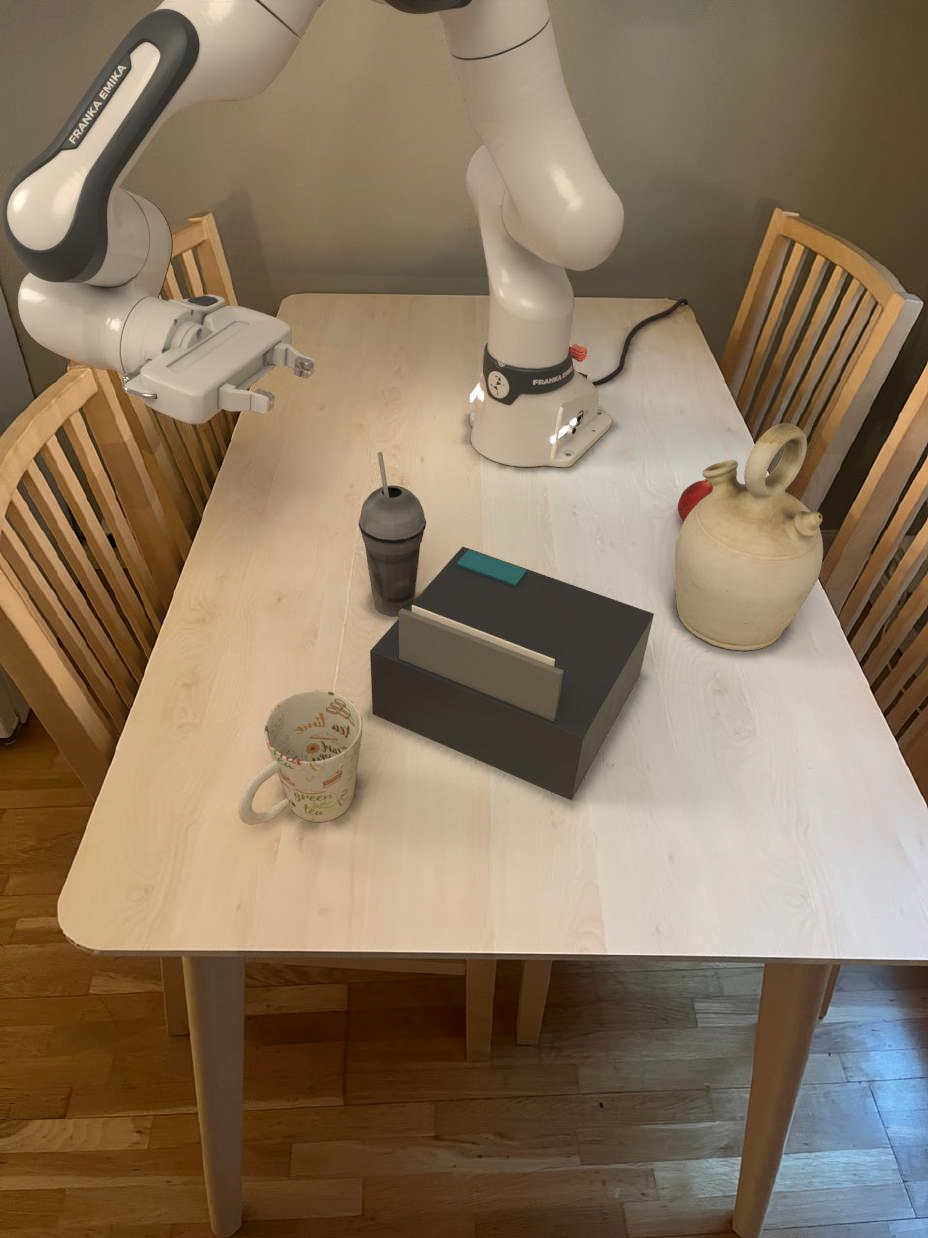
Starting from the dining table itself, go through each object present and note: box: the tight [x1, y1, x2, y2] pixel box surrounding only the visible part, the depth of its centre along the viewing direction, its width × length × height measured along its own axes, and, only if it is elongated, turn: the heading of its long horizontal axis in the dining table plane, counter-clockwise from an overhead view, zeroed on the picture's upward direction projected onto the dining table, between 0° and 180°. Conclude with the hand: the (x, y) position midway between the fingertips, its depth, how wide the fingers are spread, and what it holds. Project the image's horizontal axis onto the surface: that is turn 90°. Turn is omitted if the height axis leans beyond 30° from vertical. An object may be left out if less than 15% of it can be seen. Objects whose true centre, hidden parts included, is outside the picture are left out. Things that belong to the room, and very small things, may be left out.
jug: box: [674, 422, 824, 652], centre depth 99 cm, size 15×16×25 cm
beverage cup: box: [358, 451, 427, 617], centre depth 100 cm, size 7×7×20 cm
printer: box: [369, 546, 655, 801], centre depth 92 cm, size 19×22×16 cm
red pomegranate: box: [677, 478, 713, 523], centre depth 118 cm, size 6×6×8 cm
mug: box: [238, 689, 363, 826], centre depth 82 cm, size 8×13×10 cm, turn 138°
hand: (292, 386), depth 94 cm, fingers open, 8 cm apart
